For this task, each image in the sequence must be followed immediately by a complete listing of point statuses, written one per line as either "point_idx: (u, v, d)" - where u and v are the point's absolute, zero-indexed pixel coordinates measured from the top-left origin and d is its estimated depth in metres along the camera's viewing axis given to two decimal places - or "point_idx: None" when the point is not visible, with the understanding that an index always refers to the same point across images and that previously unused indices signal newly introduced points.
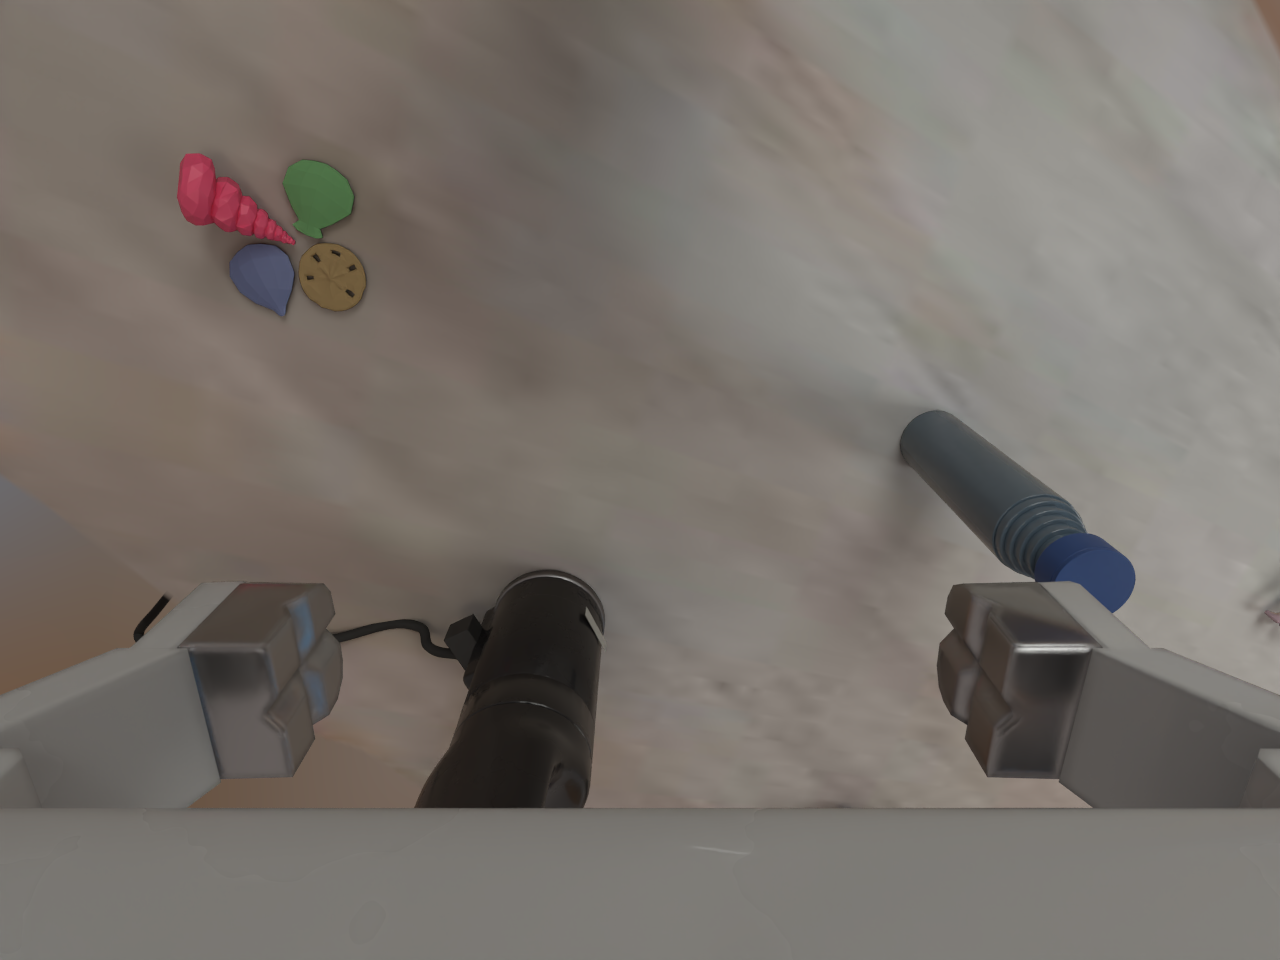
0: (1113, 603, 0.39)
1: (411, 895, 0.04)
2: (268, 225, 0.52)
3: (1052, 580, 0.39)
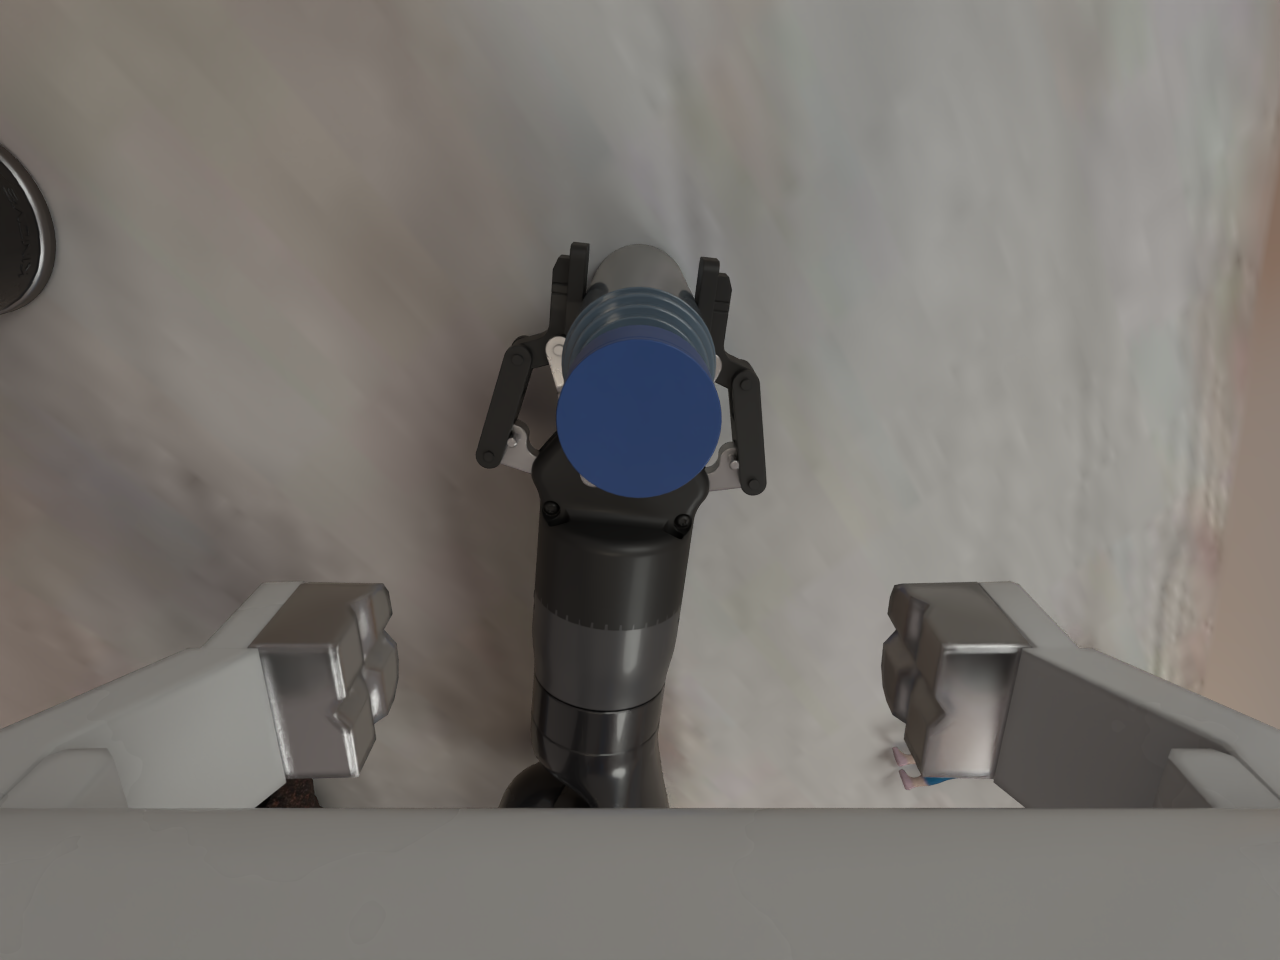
0: (656, 478, 0.19)
1: (411, 895, 0.04)
2: None
3: (574, 367, 0.19)
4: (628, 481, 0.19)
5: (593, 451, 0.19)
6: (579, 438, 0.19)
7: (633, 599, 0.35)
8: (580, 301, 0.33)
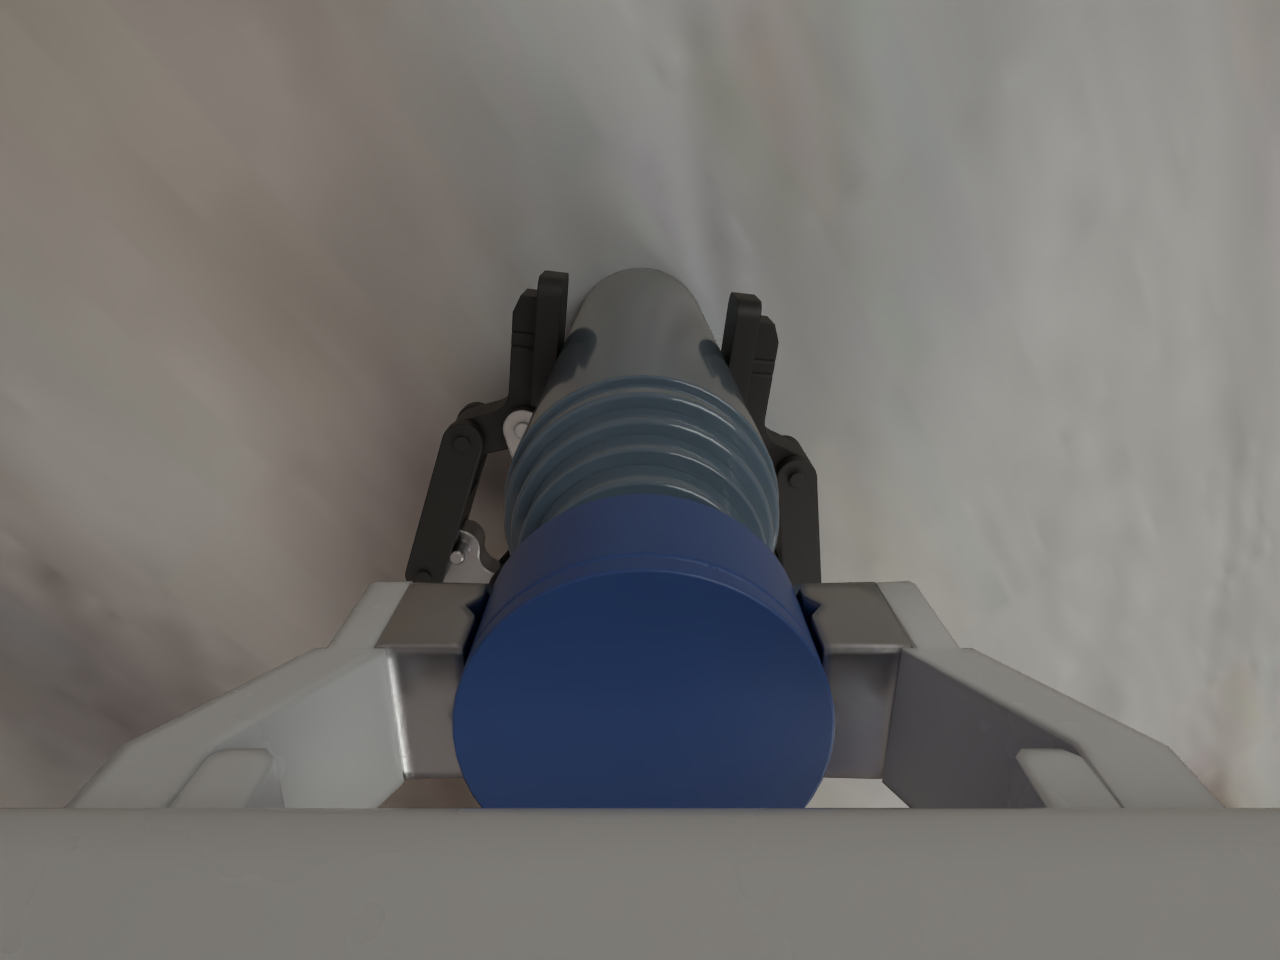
0: None
1: (410, 895, 0.04)
2: None
3: (490, 624, 0.08)
4: None
5: (540, 796, 0.08)
6: (507, 771, 0.08)
7: None
8: (553, 360, 0.22)
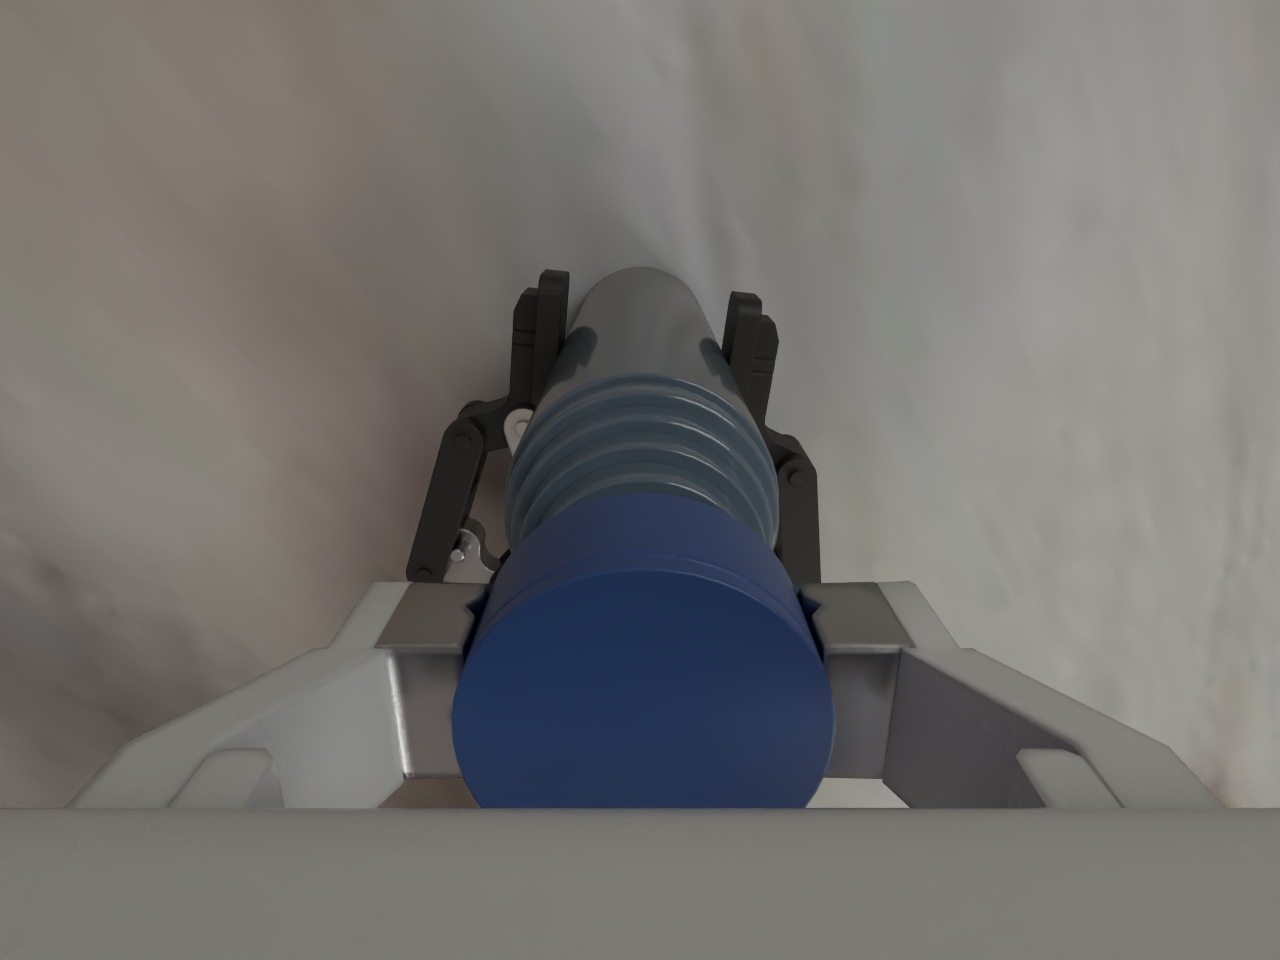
0: (790, 746, 0.08)
1: (411, 895, 0.04)
2: None
3: None
4: (769, 797, 0.08)
5: None
6: None
7: None
8: (554, 358, 0.22)
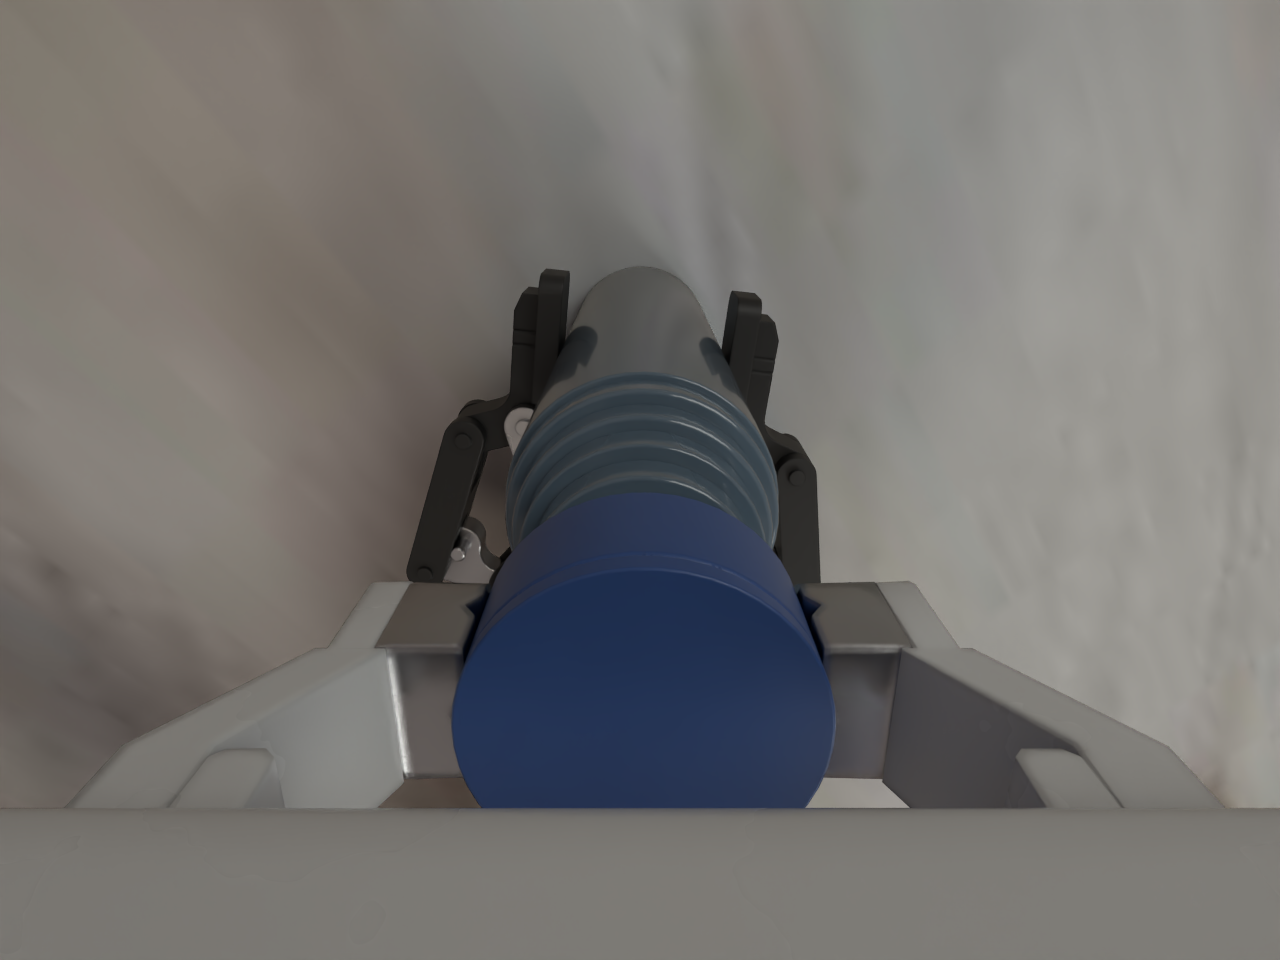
0: (708, 622, 0.08)
1: (411, 895, 0.04)
2: None
3: None
4: (765, 657, 0.08)
5: (770, 750, 0.08)
6: (771, 786, 0.08)
7: None
8: (555, 357, 0.22)
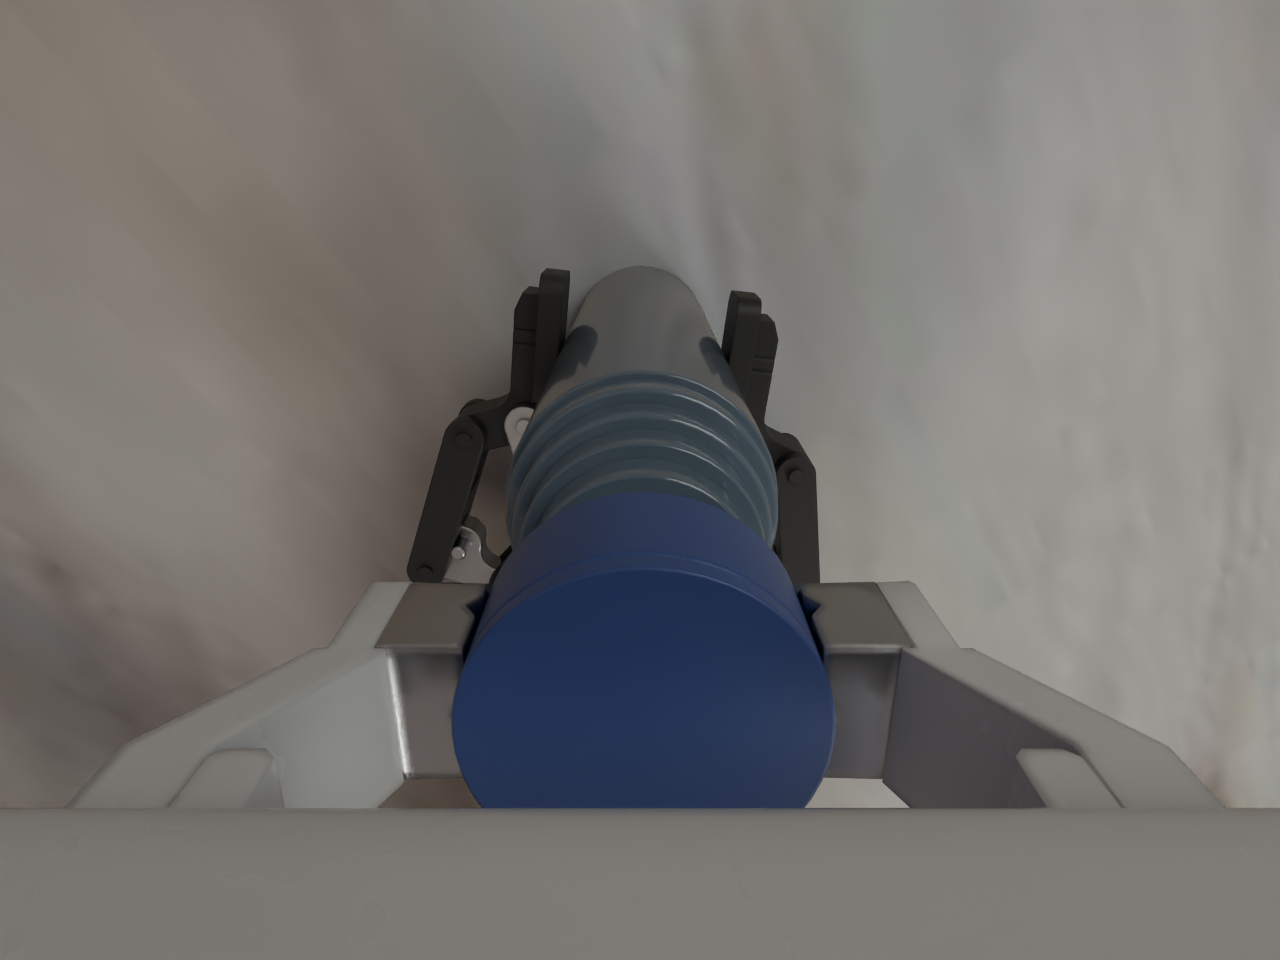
0: (532, 650, 0.08)
1: (411, 895, 0.04)
2: None
3: None
4: (589, 615, 0.08)
5: (705, 640, 0.08)
6: (750, 651, 0.08)
7: None
8: (555, 357, 0.22)
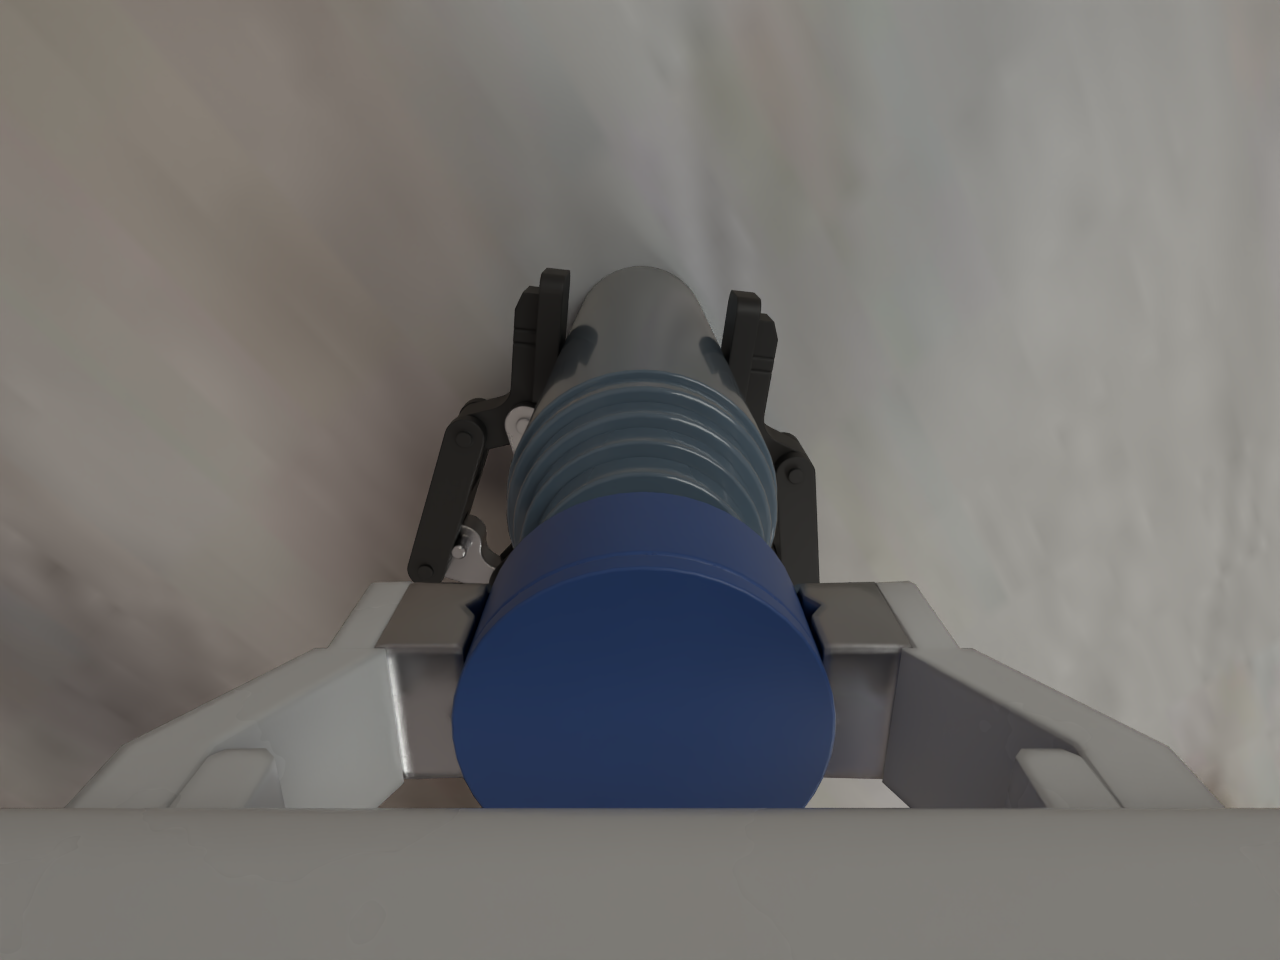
0: (513, 787, 0.08)
1: (411, 895, 0.04)
2: None
3: (748, 583, 0.08)
4: (492, 736, 0.08)
5: (551, 658, 0.08)
6: (578, 625, 0.08)
7: None
8: (555, 356, 0.22)
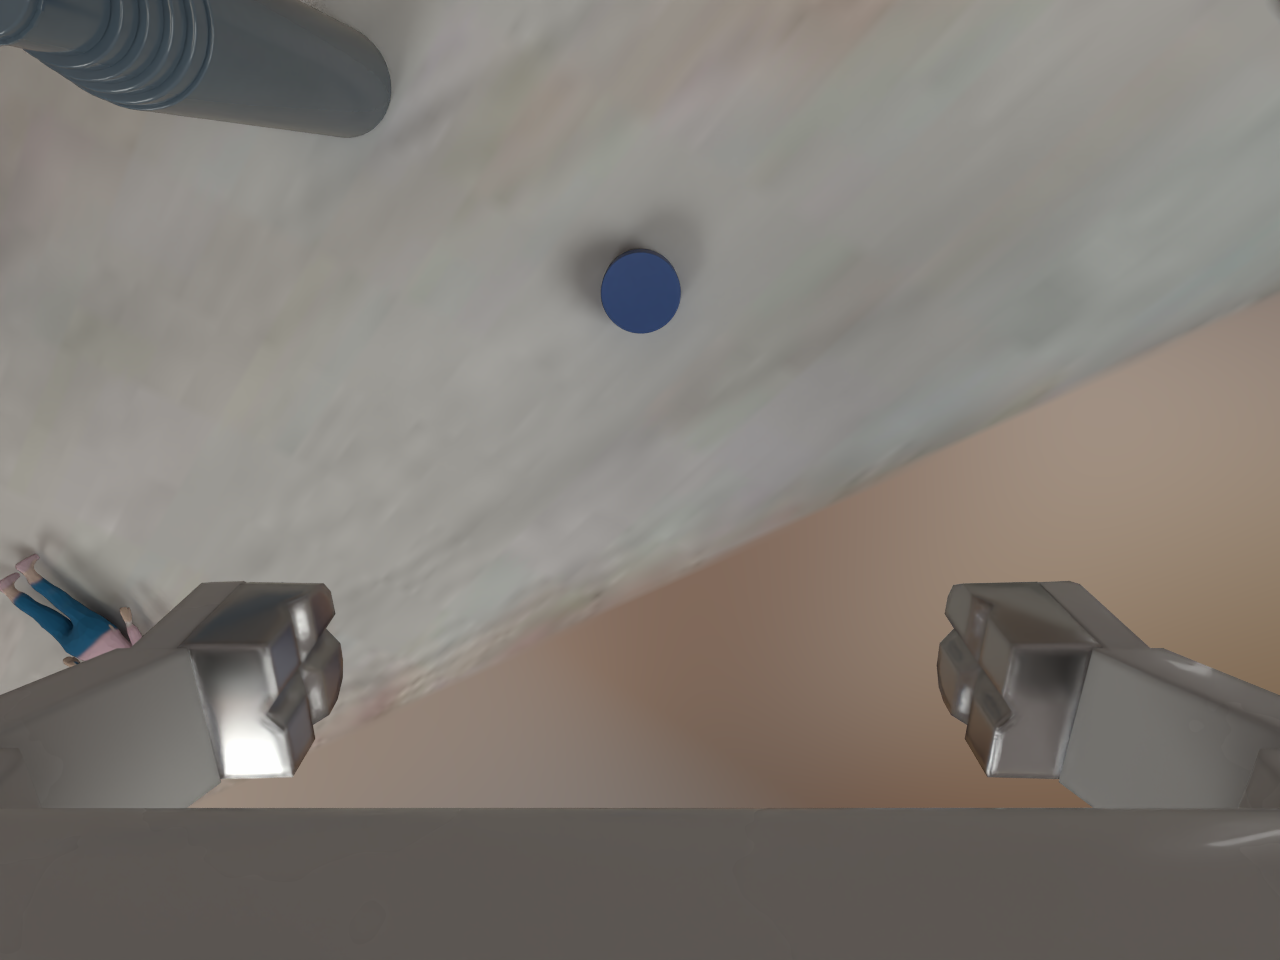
0: (643, 324, 0.40)
1: (411, 895, 0.04)
2: None
3: (615, 261, 0.39)
4: (629, 323, 0.40)
5: (616, 304, 0.39)
6: (610, 296, 0.39)
7: None
8: None
